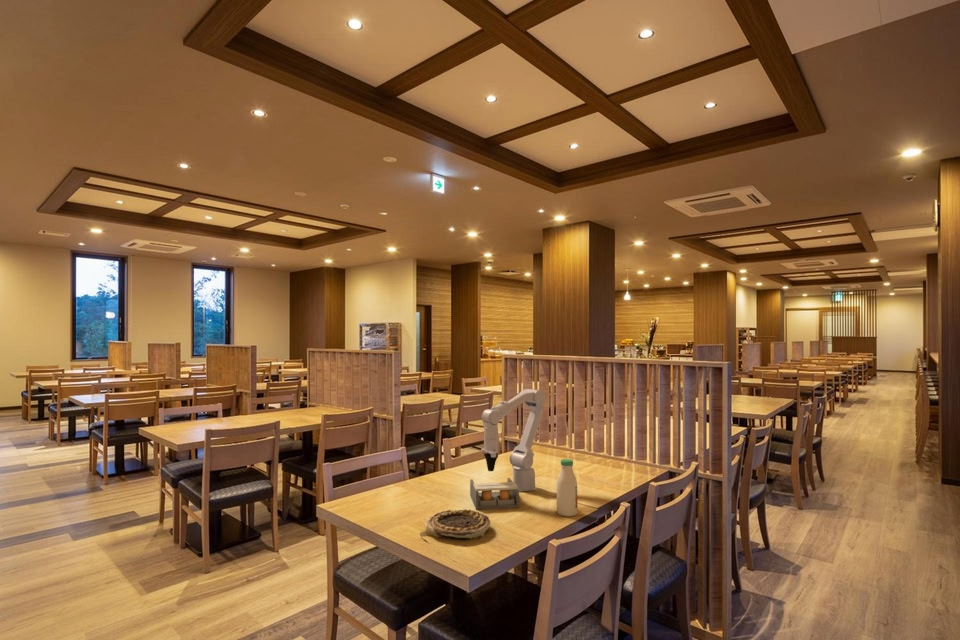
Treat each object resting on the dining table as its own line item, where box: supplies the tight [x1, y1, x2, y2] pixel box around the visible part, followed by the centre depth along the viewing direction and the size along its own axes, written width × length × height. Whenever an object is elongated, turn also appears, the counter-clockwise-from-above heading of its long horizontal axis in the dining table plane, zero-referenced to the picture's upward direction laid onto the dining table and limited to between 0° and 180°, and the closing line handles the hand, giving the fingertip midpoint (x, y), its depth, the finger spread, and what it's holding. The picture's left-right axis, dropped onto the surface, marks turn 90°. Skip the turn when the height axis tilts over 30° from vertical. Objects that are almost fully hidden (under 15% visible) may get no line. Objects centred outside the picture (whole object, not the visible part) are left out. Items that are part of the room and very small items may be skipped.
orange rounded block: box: [499, 490, 510, 500], centre depth 199 cm, size 4×4×5 cm
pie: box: [419, 509, 491, 544], centre depth 172 cm, size 28×27×5 cm
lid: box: [473, 481, 518, 492], centre depth 199 cm, size 17×7×1 cm, turn 98°
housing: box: [469, 477, 520, 511], centre depth 203 cm, size 17×18×7 cm
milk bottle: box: [556, 458, 578, 517], centre depth 189 cm, size 8×8×20 cm
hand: (490, 470), depth 210 cm, fingers closed
